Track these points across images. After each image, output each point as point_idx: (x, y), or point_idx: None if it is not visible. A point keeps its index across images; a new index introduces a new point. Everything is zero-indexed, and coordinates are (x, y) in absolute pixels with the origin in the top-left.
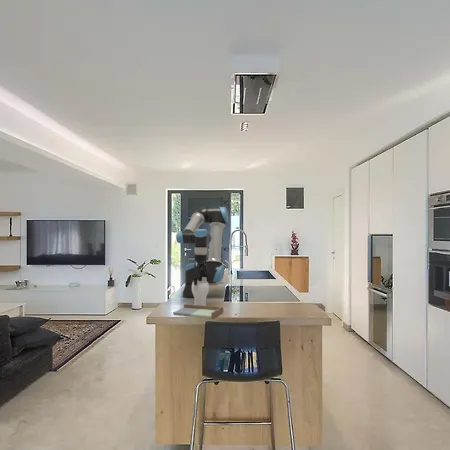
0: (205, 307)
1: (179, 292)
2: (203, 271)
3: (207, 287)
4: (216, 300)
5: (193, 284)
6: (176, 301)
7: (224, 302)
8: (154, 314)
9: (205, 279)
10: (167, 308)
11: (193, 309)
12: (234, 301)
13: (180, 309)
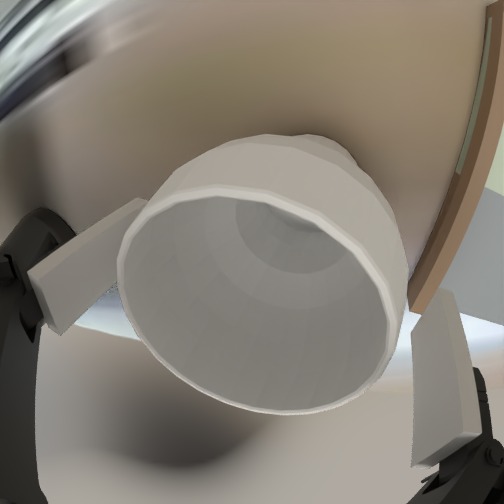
0: (492, 141)
1: None
2: (9, 417)
3: (331, 161)
4: (81, 116)
5: (333, 393)
6: None
7: (116, 45)
8: (492, 387)
9: (68, 267)
10: None
11: (489, 233)
12: (82, 6)
13: (474, 312)
